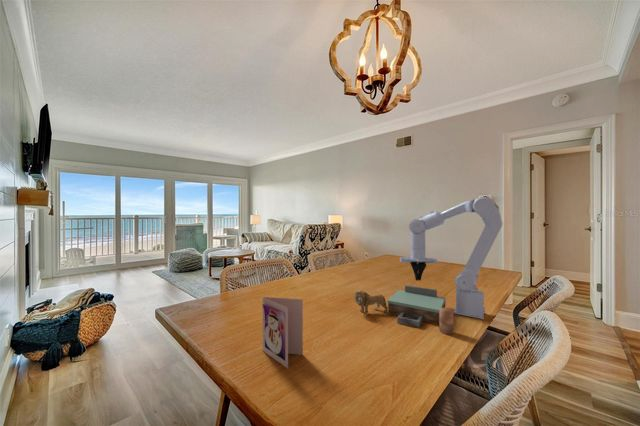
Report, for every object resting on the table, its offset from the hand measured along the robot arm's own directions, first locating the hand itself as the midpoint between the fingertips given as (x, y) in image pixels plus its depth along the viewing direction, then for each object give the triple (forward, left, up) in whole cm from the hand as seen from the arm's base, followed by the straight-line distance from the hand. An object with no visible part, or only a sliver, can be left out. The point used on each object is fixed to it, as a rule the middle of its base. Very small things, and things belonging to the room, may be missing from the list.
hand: (418, 279), depth 109 cm
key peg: (-14, +23, -9) cm, 28 cm away
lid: (-2, +11, -5) cm, 13 cm away
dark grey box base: (-2, +14, -9) cm, 17 cm away
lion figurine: (+13, +21, -10) cm, 27 cm away
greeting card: (+22, +61, -10) cm, 66 cm away
